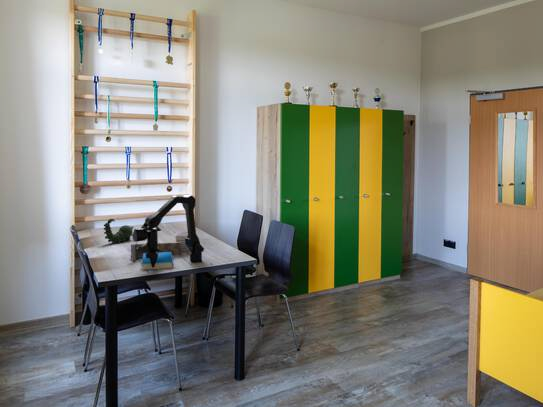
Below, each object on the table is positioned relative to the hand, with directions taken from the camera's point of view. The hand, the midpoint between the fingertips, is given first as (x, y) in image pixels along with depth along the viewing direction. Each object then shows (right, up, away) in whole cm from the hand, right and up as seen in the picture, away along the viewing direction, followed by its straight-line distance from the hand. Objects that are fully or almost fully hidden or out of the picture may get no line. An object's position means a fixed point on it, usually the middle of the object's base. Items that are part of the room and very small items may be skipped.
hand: (153, 267), depth 254 cm
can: (+9, +4, +44) cm, 45 cm away
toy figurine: (-42, +8, +74) cm, 86 cm away
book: (-1, 0, +14) cm, 14 cm away
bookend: (-17, +2, +23) cm, 29 cm away
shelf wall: (-6, +3, +32) cm, 33 cm away
